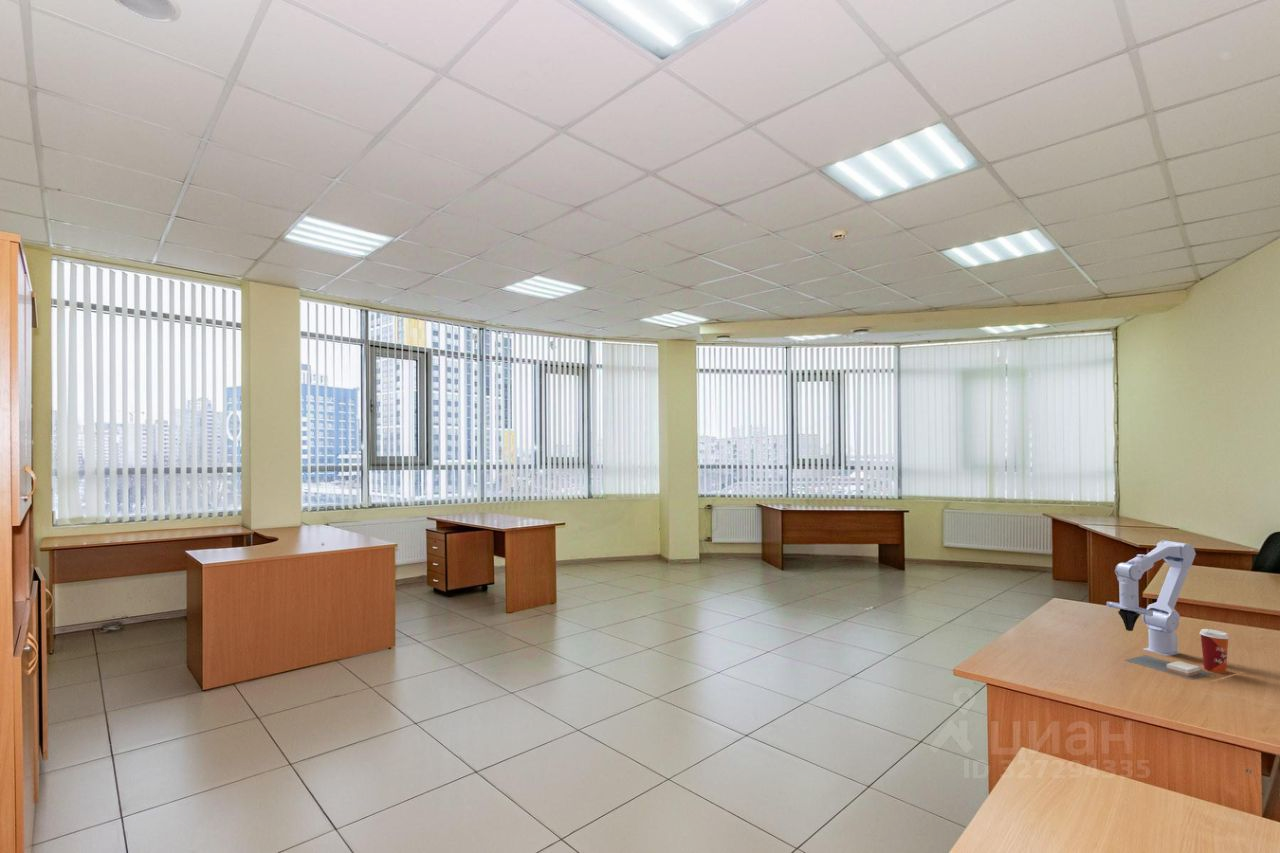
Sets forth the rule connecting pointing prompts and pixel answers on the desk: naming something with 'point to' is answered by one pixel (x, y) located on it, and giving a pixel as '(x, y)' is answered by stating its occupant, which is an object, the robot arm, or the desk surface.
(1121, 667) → the desk surface
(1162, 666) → the mat
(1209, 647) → the paper cup
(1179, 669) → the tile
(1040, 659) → the desk surface
